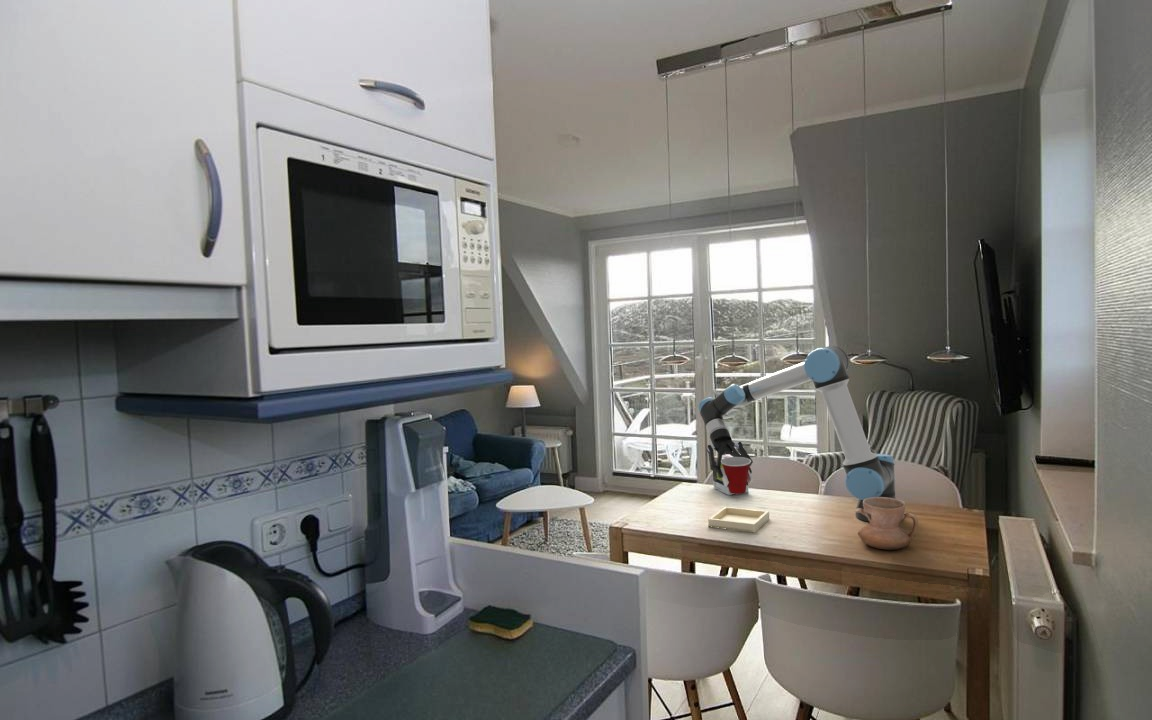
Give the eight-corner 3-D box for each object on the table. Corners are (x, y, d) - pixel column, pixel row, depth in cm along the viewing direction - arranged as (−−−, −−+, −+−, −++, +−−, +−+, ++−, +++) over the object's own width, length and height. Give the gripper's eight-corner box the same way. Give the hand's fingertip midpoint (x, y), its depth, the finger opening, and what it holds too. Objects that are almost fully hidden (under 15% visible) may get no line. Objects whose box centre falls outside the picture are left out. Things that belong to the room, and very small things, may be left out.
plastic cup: (722, 496, 231) (720, 463, 230) (722, 488, 241) (720, 456, 241) (753, 496, 228) (751, 462, 228) (752, 488, 239) (750, 456, 238)
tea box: (749, 493, 275) (747, 459, 275) (728, 496, 273) (726, 461, 272) (733, 485, 290) (731, 453, 289) (712, 488, 288) (711, 455, 287)
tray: (769, 519, 237) (769, 511, 237) (754, 532, 223) (754, 524, 223) (725, 514, 247) (725, 506, 247) (708, 527, 233) (708, 518, 233)
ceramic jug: (853, 549, 201) (852, 505, 201) (858, 535, 214) (857, 493, 213) (917, 558, 193) (917, 511, 192) (919, 542, 205) (918, 498, 204)
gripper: (741, 436, 253) (763, 485, 238) (690, 441, 248) (708, 491, 233) (747, 424, 247) (769, 474, 232) (694, 429, 243) (713, 480, 228)
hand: (739, 483), depth 233 cm, fingers closed on plastic cup, 9 cm apart
